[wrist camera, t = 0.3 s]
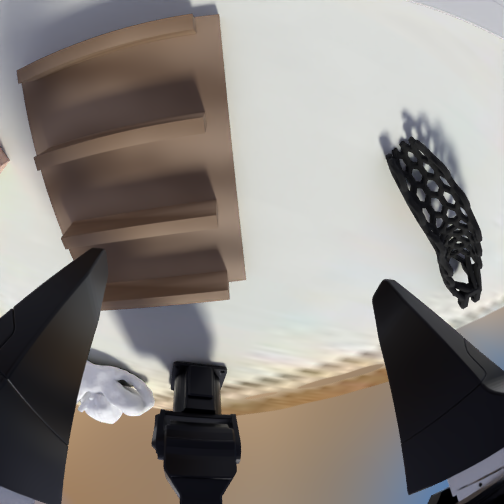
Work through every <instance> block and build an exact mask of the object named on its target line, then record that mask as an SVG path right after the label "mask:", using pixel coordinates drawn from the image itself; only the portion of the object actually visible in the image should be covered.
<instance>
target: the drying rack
mask: <svg viewBox="0 0 504 504" xmlns="http://www.w3.org/2000/svg"><path fill="white" fill-rule="evenodd" d="M17 77H18V84H20V83H22V88H23V94H24V100H25V106H26V111H27V116H28V121H29V125H30V130H31V134H32V139H33V143H34V147H35V151H36V155H37V156H35V157H34V160H35V164H36V167H37V171H38V170H41V172H42V176H43V179H44V182H45V186H46V189H47V192H48V195H49V198H50V201H51V204H52V207H53V210H54V212H55V215H56V218H57V221H58V223H59V226H60V228H61V231H62V234H63V236H62V237H61V240H62V242H63V244H64V247H65V249H69V251H70V253H71V256H72V258H73V260H75V259H76V258H78V257H79V256H81V255H82V254H83V253H85V252H86V251H88V250H89V249H91V248H93V247H96V248H103V249H105V250H106V254H107V264H108V279H107V283H106V288H105V292H104V297H103V301H102V306H101V311H103V310H118V309H132V308H145V307H157V306H169V305H180V304H191V303H201V302H211V301H220V300H229V299H230V297H229V282H232V281H241V280H246V274H245V265H244V256H243V247H242V238H241V229H240V219H239V210H238V201H237V191H236V182H235V172H234V162H233V153H232V143H231V133H230V123H229V113H228V103H227V93H226V82H225V72H224V62H223V51H222V40H221V30H220V19H219V14H217V15H208V16H200V17H194V16H193V14H187V15H181V16H175V17H170V18H164V19H160V20H155V21H150V22H146V23H142V24H138V25H134V26H130V27H126V28H123V29H119V30H116V31H112V32H109V33H106V34H103V35H100V36H97V37H94V38H91V39H88V40H85V41H82V42H80V43H77V44H74V45H72V46H69V47H67V48H64V49H62V50H59V51H57V52H55V53H52V54H50V55H48V56H46V57H43V58H41V59H39V60H37V61H35V62H33V63H31V64H29V65H27V66H25V67H23V68H21V69H19V70H17Z"/></svg>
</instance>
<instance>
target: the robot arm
mask: <svg viewBox="0 0 504 504" xmlns="http://www.w3.org/2000/svg"><path fill="white" fill-rule="evenodd" d="M107 279H108V264H107V254H106V250H105V249H103V248H96V247H93V248H91V249H89V250H88V251H86V252H85V253H83V254H82V255H81V256H79V257H78V258H76V259H75V260H74V261H72V262H71V263H70V264H68V265H67V266H65V267H64V268H63V269H61V270H60V271H59V272H57V273H56V274H55V275H53V276H52V277H51V278H49V279H48V280H47V281H46V282H44V283H43V284H42V285H40V286H39V287H38V288H37V289H35V290H34V291H33V292H31V293H30V294H29V295H28V296H26V297H25V298H24V299H23V300H22V301H20V302H19V303H18V304H17V305H15V306H14V307H13V309H10V310H9V311H8V312H7V313H6V314H5V315H3V316H2V317H1V318H0V504H34V501H35V500H38V501H40V502H43V503H46V504H61V501H62V488H63V479H64V472H65V464H66V457H67V451H68V446H67V445H68V444H69V438H70V432H71V427H72V422H73V417H74V412H75V407H76V403H77V398H78V394H79V389H80V385H81V381H82V377H83V373H84V369H85V366H86V362H87V358H88V355H89V351H90V348H91V344H92V341H93V337H94V334H95V331H96V328H97V324H98V321H99V316H100V311H101V306H102V301H103V297H104V292H105V288H106V283H107ZM372 304H373V309H374V314H375V320H376V326H377V332H378V338H379V342H380V346H381V350H382V354H383V358H384V362H385V366H386V371H387V375H388V379H389V384H390V388H391V393H392V397H393V402H394V407H395V412H396V417H397V423H398V428H399V434H400V439H401V443H402V444H401V446H402V453H403V460H404V466H405V474H406V482H407V491H408V494H409V495H411V494H413V493H416V492H418V491H421V490H423V489H426V488H428V487H431V486H433V485H435V484H437V483H439V482H442V481H444V480H446V479H447V480H448V483H449V487H447V488H446V489H444V490H442V491H440V492H438V493H436V494H434V495H431V498H430V500H429V502H428V504H504V371H503V370H502V369H501V368H500V367H498V366H497V365H496V364H495V363H494V362H492V361H491V360H490V359H489V358H487V357H486V356H485V355H484V354H483V353H481V352H480V351H479V350H478V349H477V348H475V347H474V346H473V345H472V344H471V343H470V342H468V341H467V340H466V339H465V338H463V336H462V335H460V334H459V333H458V332H457V331H456V330H455V329H454V328H452V327H451V326H450V325H449V324H448V323H446V322H445V321H444V320H443V319H442V318H441V317H439V316H438V315H437V314H436V313H435V312H433V311H432V310H431V309H430V308H429V307H427V306H426V305H425V304H424V303H422V302H421V301H420V300H419V299H418V298H416V297H415V296H414V295H413V294H411V293H410V292H409V291H408V290H406V289H405V288H404V287H403V286H401V285H400V284H399V283H397V282H396V281H395V280H390V279H384V280H383V281H382V282H381V283H380V285H379V287H378V289H377V290H376V292H375V294H374V295H373V299H372ZM226 373H227V368H225V367H219V366H209V365H200V364H191V363H183V362H174V363H173V370H172V380H171V390H173V391H174V400H173V411H167V410H164V409H161V411H160V414H158V415H156V416H155V427H154V432H153V438H152V447H153V448H154V449H155V450H156V453H157V454H158V459H159V460H164V472H165V476H166V479H167V480H168V482H169V483H170V485H171V486H172V488H173V489H174V491H175V492H176V494H177V495H178V497H179V498H180V504H222V495H223V494H224V492H225V491H226V489H227V487H228V485H229V484H230V482H231V481H232V479H233V477H234V476H235V474H236V472H237V466H236V464H238V463H239V462H240V458H241V442H240V436H239V430H238V425H237V419H236V414H231V415H221V394H220V390H221V387H222V384H223V381H224V379H225V376H226Z"/></svg>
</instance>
